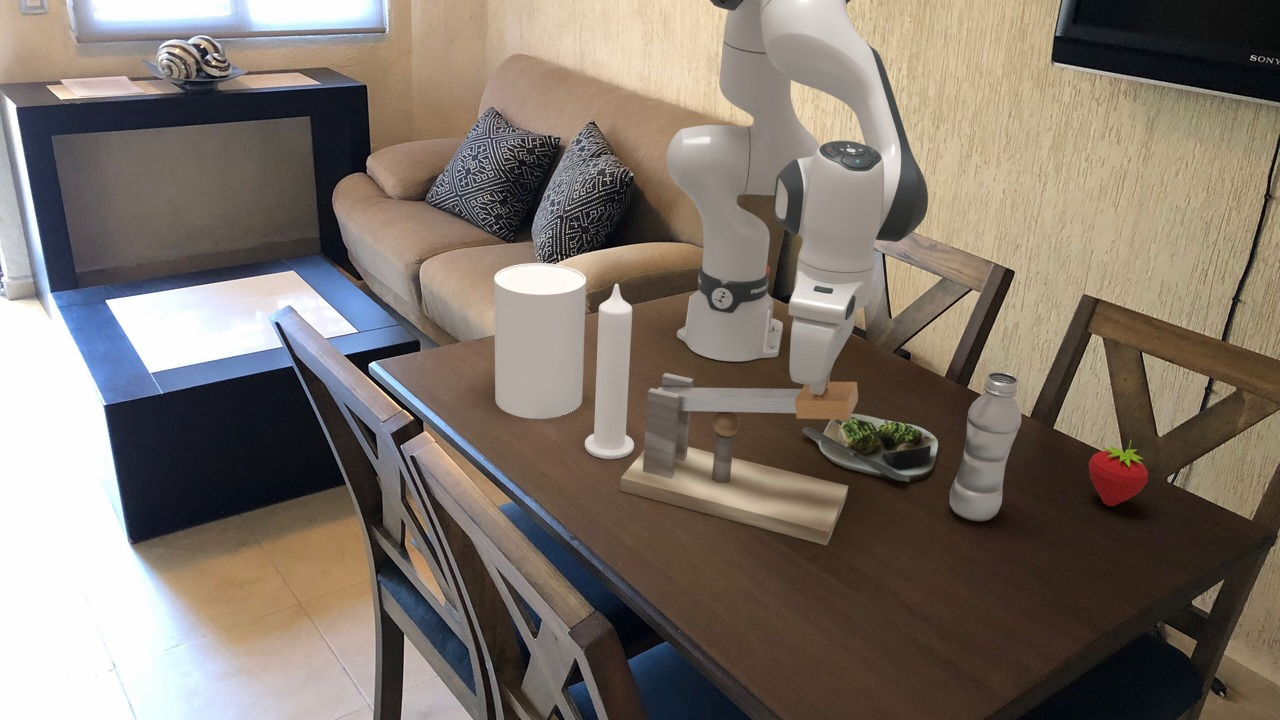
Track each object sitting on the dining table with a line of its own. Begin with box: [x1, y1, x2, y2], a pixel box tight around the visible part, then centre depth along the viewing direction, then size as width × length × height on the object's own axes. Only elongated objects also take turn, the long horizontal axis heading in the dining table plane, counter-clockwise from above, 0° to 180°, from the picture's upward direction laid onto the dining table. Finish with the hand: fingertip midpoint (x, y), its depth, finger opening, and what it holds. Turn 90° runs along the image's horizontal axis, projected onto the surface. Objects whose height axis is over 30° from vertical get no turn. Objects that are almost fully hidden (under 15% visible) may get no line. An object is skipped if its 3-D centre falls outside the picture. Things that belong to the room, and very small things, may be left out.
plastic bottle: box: [949, 371, 1022, 522], centre depth 129 cm, size 6×7×20 cm
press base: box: [619, 372, 849, 546], centre depth 131 cm, size 12×28×14 cm, turn 68°
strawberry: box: [1088, 439, 1149, 507], centre depth 135 cm, size 6×8×10 cm
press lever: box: [657, 381, 859, 420], centre depth 128 cm, size 6×26×2 cm, turn 68°
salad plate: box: [802, 413, 940, 483], centre depth 147 cm, size 19×18×5 cm
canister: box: [493, 262, 587, 420], centre depth 153 cm, size 14×14×20 cm
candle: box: [584, 283, 635, 460], centre depth 139 cm, size 7×7×25 cm
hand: (818, 390), depth 124 cm, fingers closed, pressing on press lever
